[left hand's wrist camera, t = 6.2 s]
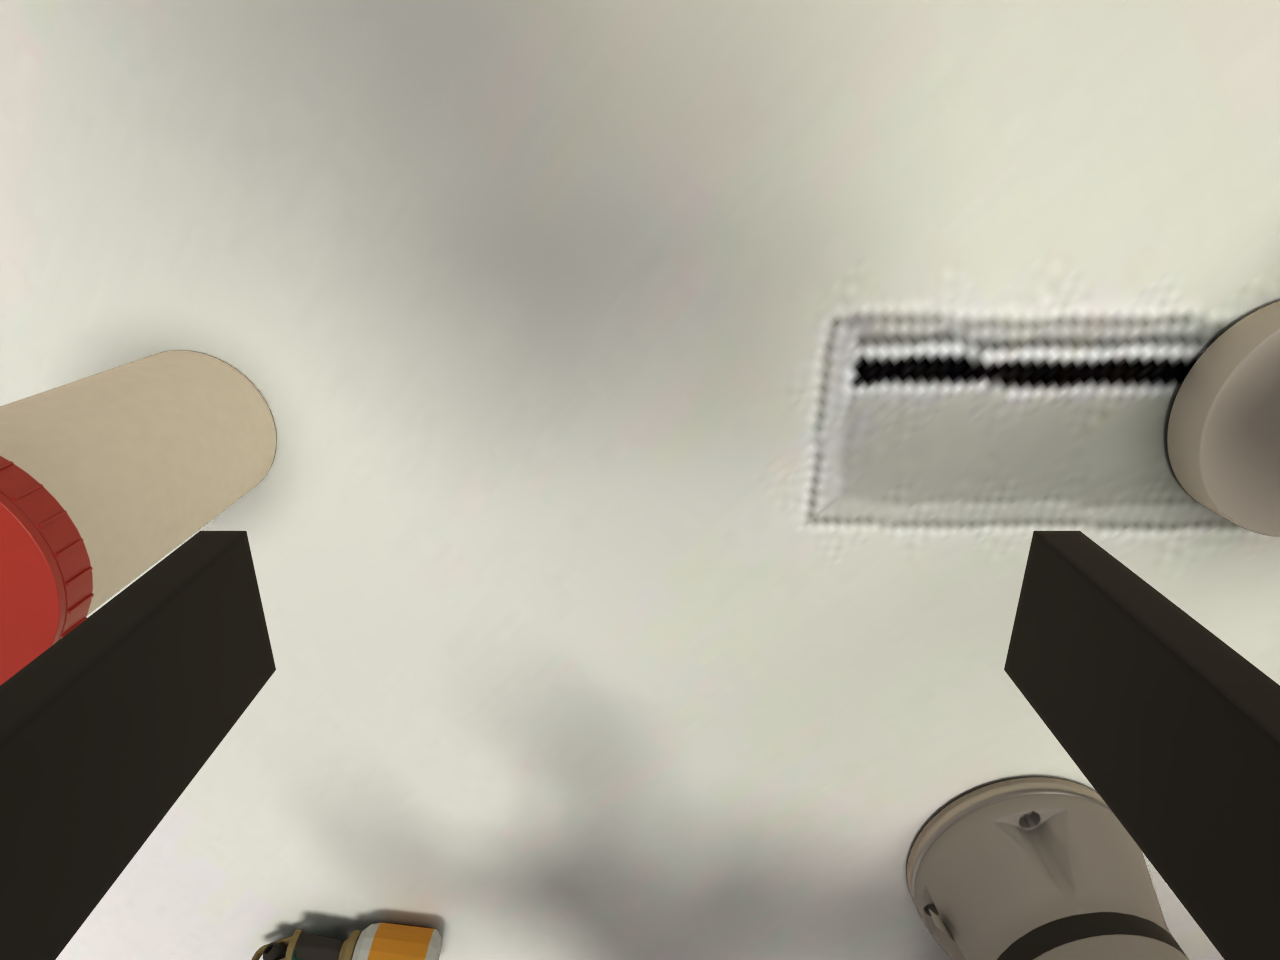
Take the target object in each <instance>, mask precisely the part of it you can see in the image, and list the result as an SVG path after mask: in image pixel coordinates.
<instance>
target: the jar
mask: <svg viewBox="0 0 1280 960" xmlns="http://www.w3.org/2000/svg"><path fill="white" fill-rule="evenodd" d="M275 451H276V430H275V425H274V421H273V418H272V415H271V412H270V410H269V408H268V406H267V404H266V402H265V400H264V399H263V397H262V396H261V394H260V393H259V391H258V390H257V389H256V388H255V386H254V385H253V384H252V383H251V382H250V381H249V380H248V379H247V378H246V377H245V376H244V375H243V374H241V373H240V372H239V371H237V370H236V369H235V368H233V367H232V366H230V365H228V364H227V363H225V362H223V361H221V360H219V359H217V358H214V357H212V356H209V355H206V354H202V353H198V352H193V351H184V350H177V351H167V352H161V353H158V354H155V355H152V356H149V357H146V358H143V359H140V360H137V361H134V362H131V363H128V364H125V365H122V366H119V367H116V368H113V369H110V370H107V371H104V372H101V373H98V374H95V375H92V376H90V377H87V378H84V379H81V380H78V381H75V382H72V383H69V384H66V385H63V386H60V387H57V388H54V389H51V390H48V391H45V392H42V393H39V394H36V395H33V396H30V397H27V398H24V399H21V400H18V401H15V402H12V403H9V404H6V405H4V406H1V407H0V456H2V457H4V458H5V459H7V460H9V461H12V462H13V463H14V464H15V465H17V466H18V467H20V468H21V469H22V470H24V471H25V472H27V473H28V474H29V475H31V476H32V477H33V478H34V479H35V480H37V481H38V482H39V483H40V484H42V485H43V487H44V488H45V489H46V490H47V491H48V492H49V493H50V494H51V495H52V496H53V497H54V498H55V499H56V500H57V501H58V502H59V504H60V505H61V506H62V507H63V509H64V510H66V512H67V514H68V515H69V517H70V518H71V520H72V521H73V523H74V525H75V526H76V528H77V529H78V531H79V534H80V536H81V538H82V539H83V540H84V541H83V542H84V544H85V547H86V550H87V553H88V556H89V559H90V564H91V567H92V568H93V570H92V575H93V592H92V594H94V596H93V597H92V600H91V604H90V607H89V611H88V614H90V613H91V612H92V611H94V610H95V609H96V608H98V607H99V606H100V605H101V604H103V603H104V602H105V601H107V600H108V599H109V598H111V597H112V596H113V595H114V594H116V593H117V592H118V591H120V590H121V589H122V588H124V587H125V586H126V585H128V584H129V583H130V582H131V581H133V580H134V579H135V578H137V577H138V576H139V575H141V574H142V573H143V572H144V571H146V570H147V569H148V568H150V567H151V566H152V565H154V564H155V563H156V562H157V561H159V560H160V559H161V558H163V557H164V556H165V555H167V554H168V553H169V552H170V551H172V550H173V549H174V548H176V547H177V546H178V545H180V544H181V543H182V542H184V541H185V540H186V539H187V538H189V537H190V536H191V535H193V534H194V533H195V532H197V531H198V530H199V529H200V528H202V527H203V526H204V525H206V524H207V523H208V522H210V521H211V520H212V519H213V518H215V517H216V516H217V515H219V514H220V513H221V512H223V511H224V510H225V509H226V508H228V507H229V506H230V505H232V504H233V503H234V502H236V501H237V500H238V499H240V498H241V497H242V496H243V495H245V494H246V493H247V492H249V491H250V490H251V489H253V488H254V487H255V486H256V485H257V484H258V483H259V482H261V481H262V479H263V478H264V477H265V476H266V474H267V473H268V471H269V469H270V467H271V465H272V462H273V460H274V456H275ZM88 614H87V615H88Z"/></svg>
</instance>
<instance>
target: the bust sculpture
mask: <svg viewBox="0 0 1280 960" xmlns="http://www.w3.org/2000/svg"><path fill="white" fill-rule="evenodd" d="M1167 445H1168V454H1169V459H1170V463H1171V466H1172V469H1173V471H1174V474H1175V476H1176V478H1177V479H1178V481H1179V483H1180V484H1181V486H1182V487H1183V488H1184V490H1185V491H1186V492H1187V493H1188V494H1189V495H1190V496H1191V497H1192V498H1193V499H1195V500H1196V501H1197V502H1198V503H1200V504H1201V505H1203V506H1205V507H1207V508H1208V509H1210V510H1212V511H1214V512H1215V513H1217V514H1219V515H1221V516H1223V517H1224V518H1226V519H1228V520H1230V521H1232V522H1233V523H1235V524H1237V525H1239V526H1241V527H1243V528H1245V529H1247V530H1250V531H1252V532H1256V533H1259V534H1263V535H1268V536H1276V537H1280V301H1277V302H1275V303H1272V304H1270V305H1267V306H1265V307H1263V308H1261V309H1259V310H1257V311H1255V312H1253V313H1252V314H1250V315H1248V316H1247V317H1245V318H1243V319H1242V320H1240V321H1239V322H1237V323H1236V324H1235V325H1233V326H1232V327H1230V328H1229V329H1228V330H1227V331H1225V332H1224V333H1223V334H1222V335H1221V336H1220V337H1219V338H1217V339H1216V340H1215V341H1214V342H1213V343H1212V344H1211V345H1210V346H1209V347H1208V348H1207V349H1206V351H1205V352H1204V353H1203V354H1202V355H1201V356H1200V358H1199V359H1198V360H1197V361H1196V363H1195V364H1194V365H1193V367H1192V368H1191V370H1190V371H1189V373H1188V375H1187V376H1186V378H1185V380H1184V381H1183V383H1182V385H1181V387H1180V389H1179V391H1178V394H1177V396H1176V398H1175V401H1174V404H1173V407H1172V410H1171V414H1170V419H1169V424H1168V434H1167Z"/></svg>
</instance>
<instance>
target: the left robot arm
mask: <svg viewBox="0 0 1280 960" xmlns="http://www.w3.org/2000/svg"><path fill="white" fill-rule="evenodd" d="M275 670H276V668H275V663H274V659H273V654H272V649H271V645H270V640H269V635H268V631H267V626H266V621H265V617H264V612H263V607H262V603H261V598H260V593H259V589H258V584H257V579H256V574H255V570H254V565H253V560H252V556H251V551H250V546H249V542H248V537H247V532H246V531H200V532H198V533H197V534H196V535H194V536H193V537H192V538H191V539H189V540H188V541H187V542H185V543H184V544H183V545H182V546H180V547H179V548H178V549H176V550H175V551H174V552H172V553H171V554H170V555H169V556H167V557H166V558H165V559H163V560H162V561H161V562H160V563H158V564H157V565H156V566H154V567H153V568H152V569H150V570H149V571H148V572H147V573H145V574H144V575H143V576H141V577H140V578H139V579H138V580H136V581H135V582H134V583H132V584H131V585H130V586H129V587H127V588H126V589H125V590H123V591H122V592H121V593H119V594H118V595H117V596H116V597H114V598H113V599H112V600H110V601H109V602H108V603H107V604H105V605H104V606H103V607H101V608H100V609H99V610H97V611H96V612H95V613H94V614H92V615H91V616H90V617H88V618H87V619H86V620H85V621H83V622H82V623H81V624H79V625H78V626H77V627H75V628H74V629H73V630H72V631H70V632H69V633H68V634H66V635H65V636H64V637H63V638H61V639H60V640H59V641H57V642H56V643H55V644H54V645H52V646H51V647H50V648H48V649H47V650H46V651H44V652H43V653H42V654H41V655H39V656H38V657H37V658H35V659H34V660H33V661H32V662H30V663H29V664H28V665H26V666H25V667H24V668H22V669H21V670H20V671H19V672H17V673H16V674H15V675H13V676H12V677H11V678H10V679H8V680H7V681H6V682H4V683H3V684H2V685H1V686H0V960H55V959H56V958H57V957H58V955H59V954H60V953H61V951H62V950H63V949H64V948H65V946H66V945H67V944H68V942H69V941H70V940H71V938H72V937H73V936H74V934H75V933H76V932H77V930H78V929H79V928H80V926H81V925H82V924H83V923H84V921H85V920H86V919H87V917H88V916H89V915H90V913H91V912H92V911H93V909H94V908H95V907H96V905H97V904H98V903H99V902H100V900H101V899H102V898H103V896H104V895H105V894H106V892H107V891H108V890H109V888H110V887H111V886H112V884H113V883H114V882H115V880H116V879H117V878H118V877H119V875H120V874H121V873H122V871H123V870H124V869H125V867H126V866H127V865H128V863H129V862H130V861H131V859H132V858H133V857H134V855H135V854H136V853H137V852H138V850H139V849H140V848H141V846H142V845H143V844H144V842H145V841H146V840H147V838H148V837H149V836H150V834H151V833H152V832H153V831H154V829H155V828H156V827H157V825H158V824H159V823H160V821H161V820H162V819H163V817H164V816H165V815H166V813H167V812H168V811H169V809H170V808H171V807H172V806H173V804H174V803H175V802H176V800H177V799H178V798H179V796H180V795H181V794H182V792H183V791H184V790H185V788H186V787H187V786H188V784H189V783H190V782H191V781H192V779H193V778H194V777H195V775H196V774H197V773H198V771H199V770H200V769H201V767H202V766H203V765H204V763H205V762H206V761H207V760H208V758H209V757H210V756H211V754H212V753H213V752H214V750H215V749H216V748H217V746H218V745H219V744H220V742H221V741H222V740H223V738H224V737H225V736H226V735H227V733H228V732H229V731H230V729H231V728H232V727H233V725H234V724H235V723H236V721H237V720H238V719H239V717H240V716H241V715H242V714H243V712H244V711H245V710H246V708H247V707H248V706H249V704H250V703H251V702H252V700H253V699H254V698H255V696H256V695H257V694H258V692H259V691H260V690H261V689H262V687H263V686H264V685H265V683H266V682H267V681H268V679H269V678H270V677H271V675H272V674H273V673H274V671H275ZM1004 670H1005V671H1006V673H1007V674H1008V675H1009V677H1010V678H1011V679H1012V681H1013V682H1014V683H1015V685H1016V686H1017V687H1018V689H1019V690H1020V691H1021V692H1022V694H1023V695H1024V696H1025V698H1026V699H1027V700H1028V702H1029V703H1030V704H1031V706H1032V707H1033V708H1034V710H1035V711H1036V712H1037V714H1038V715H1039V716H1040V717H1041V719H1042V720H1043V721H1044V723H1045V724H1046V725H1047V727H1048V728H1049V729H1050V731H1051V732H1052V733H1053V735H1054V736H1055V737H1056V738H1057V740H1058V741H1059V742H1060V744H1061V745H1062V746H1063V748H1064V749H1065V750H1066V752H1067V753H1068V754H1069V756H1070V757H1071V758H1072V760H1073V761H1074V762H1075V763H1076V765H1077V766H1078V767H1079V769H1080V770H1081V771H1082V773H1083V774H1084V775H1085V777H1086V778H1087V779H1088V781H1089V782H1090V783H1091V784H1092V786H1093V787H1094V788H1095V790H1096V791H1097V792H1098V794H1099V795H1100V796H1101V798H1102V799H1103V800H1104V802H1105V803H1106V804H1107V806H1108V807H1109V808H1110V809H1111V811H1112V812H1113V813H1114V815H1115V816H1116V817H1117V819H1118V820H1119V821H1120V823H1121V824H1122V825H1123V827H1124V828H1125V829H1126V831H1127V832H1128V833H1129V834H1130V836H1131V837H1132V838H1133V840H1134V841H1135V842H1136V844H1137V845H1138V846H1139V848H1140V849H1141V850H1142V852H1143V853H1144V854H1145V855H1146V857H1147V858H1148V859H1149V861H1150V862H1151V863H1152V865H1153V866H1154V867H1155V869H1156V870H1157V871H1158V873H1159V874H1160V875H1161V877H1162V878H1163V879H1164V880H1165V882H1166V883H1167V884H1168V886H1169V887H1170V888H1171V890H1172V891H1173V892H1174V894H1175V895H1176V896H1177V898H1178V899H1179V900H1180V902H1181V903H1182V904H1183V905H1184V907H1185V908H1186V909H1187V911H1188V912H1189V913H1190V915H1191V916H1192V917H1193V919H1194V920H1195V921H1196V923H1197V924H1198V925H1199V926H1200V928H1201V929H1202V930H1203V932H1204V933H1205V934H1206V936H1207V937H1208V938H1209V940H1210V941H1211V942H1212V944H1213V945H1214V946H1215V948H1216V949H1217V950H1218V951H1219V953H1220V954H1221V955H1222V957H1223V958H1224V959H1225V960H1280V686H1279V685H1278V684H1277V683H1276V682H1274V681H1273V680H1272V679H1270V678H1269V677H1268V676H1267V675H1265V674H1264V673H1263V672H1261V671H1260V670H1259V669H1258V668H1256V667H1255V666H1254V665H1252V664H1251V663H1250V662H1248V661H1247V660H1246V659H1245V658H1243V657H1242V656H1241V655H1239V654H1238V653H1237V652H1236V651H1234V650H1233V649H1232V648H1230V647H1229V646H1228V645H1226V644H1225V643H1224V642H1223V641H1221V640H1220V639H1219V638H1217V637H1216V636H1215V635H1214V634H1212V633H1211V632H1210V631H1208V630H1207V629H1206V628H1205V627H1203V626H1202V625H1201V624H1199V623H1198V622H1197V621H1195V620H1194V619H1193V618H1192V617H1190V616H1189V615H1188V614H1186V613H1185V612H1184V611H1183V610H1181V609H1180V608H1179V607H1177V606H1176V605H1175V604H1173V603H1172V602H1171V601H1170V600H1168V599H1167V598H1166V597H1164V596H1163V595H1162V594H1161V593H1159V592H1158V591H1157V590H1155V589H1154V588H1153V587H1151V586H1150V585H1149V584H1148V583H1146V582H1145V581H1144V580H1142V579H1141V578H1140V577H1139V576H1137V575H1136V574H1135V573H1133V572H1132V571H1131V570H1130V569H1128V568H1127V567H1126V566H1124V565H1123V564H1122V563H1120V562H1119V561H1118V560H1117V559H1115V558H1114V557H1113V556H1111V555H1110V554H1109V553H1108V552H1106V551H1105V550H1104V549H1102V548H1101V547H1100V546H1098V545H1097V544H1096V543H1095V542H1093V541H1092V540H1091V539H1089V538H1088V537H1087V536H1086V535H1084V534H1083V533H1082V532H1080V531H1034V532H1033V537H1032V542H1031V546H1030V551H1029V556H1028V560H1027V565H1026V570H1025V574H1024V579H1023V584H1022V589H1021V593H1020V598H1019V603H1018V607H1017V612H1016V617H1015V621H1014V626H1013V631H1012V635H1011V640H1010V645H1009V649H1008V654H1007V659H1006V663H1005V668H1004Z"/></svg>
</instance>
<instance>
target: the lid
mask: <svg viewBox="0 0 1280 960" xmlns="http://www.w3.org/2000/svg"><path fill="white" fill-rule="evenodd" d="M83 541H84V540H83V539H82V538H81V536H80V534H79V531H78V529H77V528H76V526H75V525H74V523H73V521H72V520H71V518H70V517H69V515H68V514H67V512H66V510H64V509H63V507H62V506H61V505H60V504H59V502H58V501H57V500H56V499H55V498H54V497H53V496H52V495H51V494H50V493H49V492H48V491H47V490H46V489H45V488H44V487H43V485H42V484H40V483H39V482H38V481H37V480H35V479H34V478H33V477H32V476H31V475H29V474H28V473H27V472H25V471H24V470H22V469H21V468H20V467H18V466H17V465H15V464H14V463H13V462H12V461H9V460H7V459H5V458H4V457H2V456H0V686H1V685H2V684H3V683H4V682H6V681H7V680H8V679H10V678H11V677H12V676H13V675H15V674H16V673H17V672H19V671H20V670H21V669H22V668H24V667H25V666H26V665H28V664H29V663H30V662H32V661H33V660H34V659H35V658H37V657H38V656H39V655H41V654H42V653H43V652H44V651H46V650H47V649H48V648H50V647H51V646H52V645H54V644H55V643H56V642H57V641H59V640H60V639H61V638H63V637H64V636H65V635H66V634H68V633H69V632H70V631H72V630H73V629H74V628H75V627H77V626H78V625H79V624H81V623H82V622H83V621H85V620H86V619H87V618H86V616H87V614H88V611H89V607H90V604H91V600H92V597H93V596H94V594H92V592H93V575H92V570H93V568H92V567H91V564H90V559H89V556H88V553H87V550H86V547H85V544H84V542H83Z"/></svg>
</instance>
